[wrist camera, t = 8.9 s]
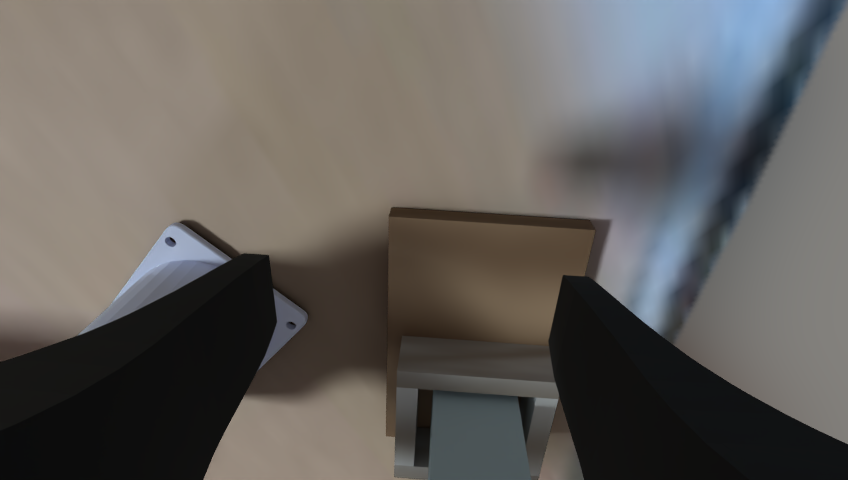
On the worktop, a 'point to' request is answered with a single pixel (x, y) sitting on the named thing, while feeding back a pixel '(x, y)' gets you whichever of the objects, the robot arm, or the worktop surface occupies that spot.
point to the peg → (476, 437)
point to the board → (474, 318)
